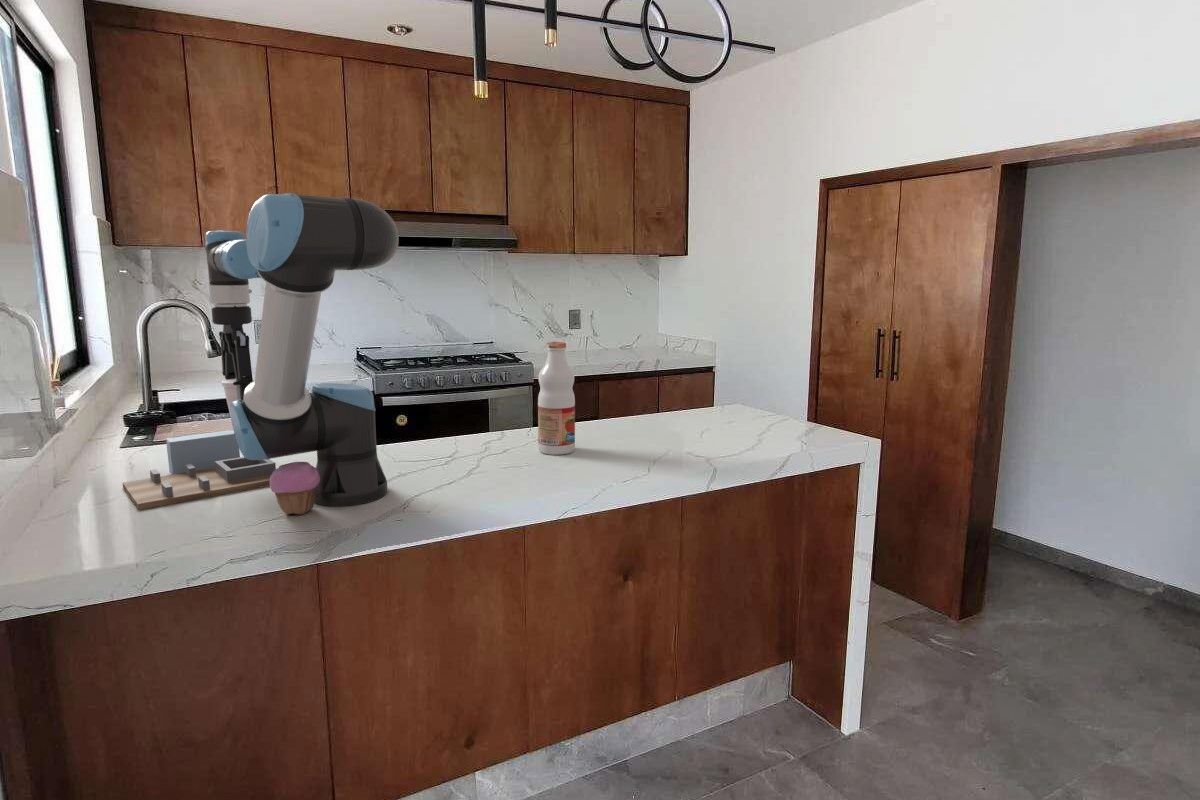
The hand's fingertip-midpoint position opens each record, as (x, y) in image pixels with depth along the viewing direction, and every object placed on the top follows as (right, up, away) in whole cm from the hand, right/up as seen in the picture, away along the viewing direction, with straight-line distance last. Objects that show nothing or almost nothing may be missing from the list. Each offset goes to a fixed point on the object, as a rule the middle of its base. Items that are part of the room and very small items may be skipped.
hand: (240, 411), depth 158 cm
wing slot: (-10, -15, -6) cm, 19 cm away
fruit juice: (+68, -11, +28) cm, 74 cm away
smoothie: (0, -3, +1) cm, 3 cm away
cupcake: (+20, -20, -19) cm, 34 cm away
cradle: (0, -14, +3) cm, 14 cm away
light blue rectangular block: (-13, -14, +10) cm, 21 cm away
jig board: (-6, -16, -2) cm, 17 cm away
